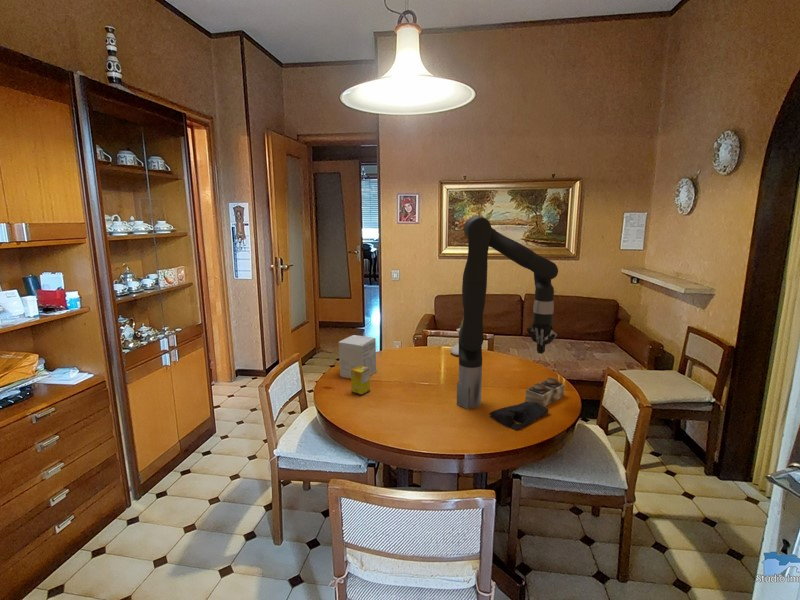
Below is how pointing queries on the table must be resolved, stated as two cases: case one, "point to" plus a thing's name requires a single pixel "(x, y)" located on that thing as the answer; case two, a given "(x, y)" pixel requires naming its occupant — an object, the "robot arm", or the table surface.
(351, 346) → the supplement box
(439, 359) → the table surface
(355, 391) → the supplement box
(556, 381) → the brown mushroom knob
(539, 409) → the black folded cloth
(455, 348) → the flower in vase
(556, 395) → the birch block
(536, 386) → the brown rounded piece
